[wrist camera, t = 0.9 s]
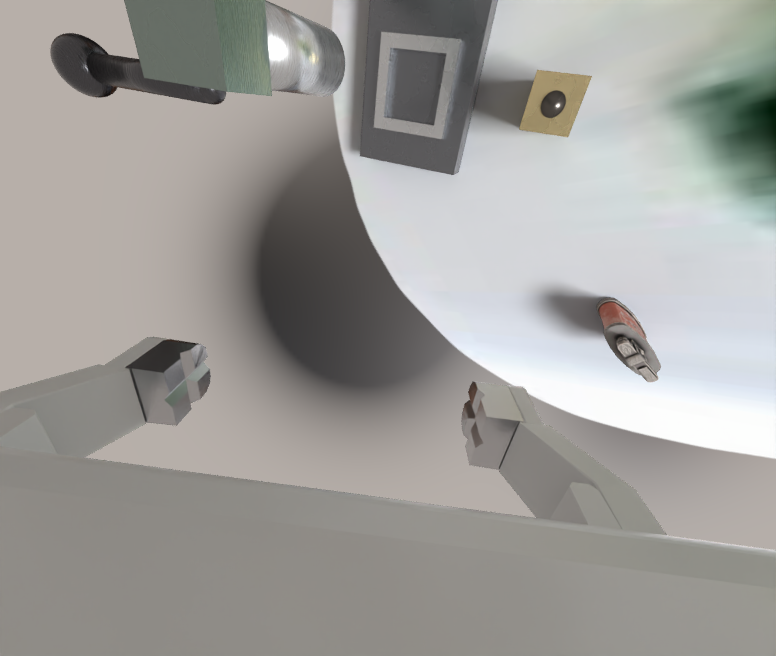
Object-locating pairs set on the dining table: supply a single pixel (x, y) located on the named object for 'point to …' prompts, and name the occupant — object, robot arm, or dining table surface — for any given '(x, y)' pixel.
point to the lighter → (628, 338)
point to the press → (306, 65)
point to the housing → (554, 102)
